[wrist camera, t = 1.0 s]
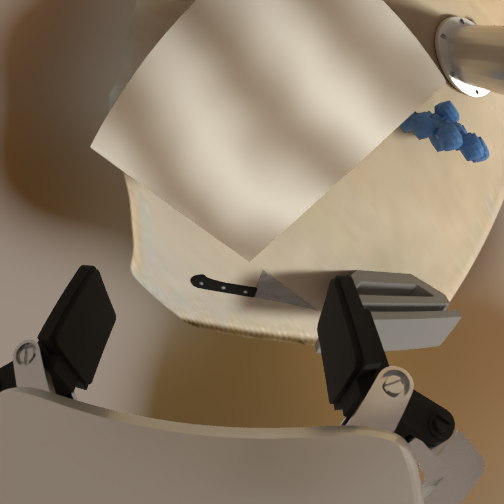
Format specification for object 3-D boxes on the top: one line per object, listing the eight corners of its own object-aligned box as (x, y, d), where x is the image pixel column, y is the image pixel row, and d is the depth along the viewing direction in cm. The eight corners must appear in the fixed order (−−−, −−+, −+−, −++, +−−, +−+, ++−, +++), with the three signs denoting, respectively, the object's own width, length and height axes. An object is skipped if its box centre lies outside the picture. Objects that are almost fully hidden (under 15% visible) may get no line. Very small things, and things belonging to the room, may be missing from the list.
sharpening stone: (436, 275, 45) (461, 316, 36) (419, 305, 50) (439, 345, 41) (318, 267, 44) (332, 319, 35) (307, 302, 48) (316, 353, 39)
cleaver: (198, 238, 41) (189, 287, 47) (198, 240, 41) (189, 289, 46) (370, 276, 45) (344, 315, 51) (371, 278, 45) (345, 317, 51)
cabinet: (267, -1, 22) (283, -76, 6) (351, 73, 27) (446, 81, 11) (167, 105, 29) (84, 143, 14) (251, 170, 35) (249, 261, 19)
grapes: (454, 108, 27) (511, 130, 18) (444, 149, 31) (496, 182, 22) (388, 80, 27) (443, 89, 17) (379, 128, 31) (428, 155, 21)
